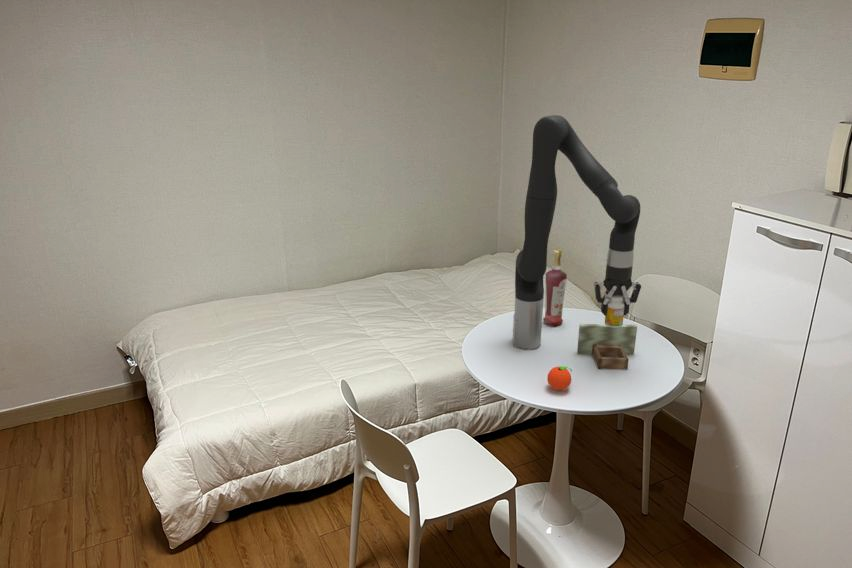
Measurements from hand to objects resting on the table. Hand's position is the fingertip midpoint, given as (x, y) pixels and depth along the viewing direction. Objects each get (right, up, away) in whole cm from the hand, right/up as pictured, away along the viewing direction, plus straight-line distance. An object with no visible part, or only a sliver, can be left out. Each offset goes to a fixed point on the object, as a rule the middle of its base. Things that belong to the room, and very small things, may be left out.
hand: (614, 314), depth 191 cm
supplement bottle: (0, -3, +1) cm, 4 cm away
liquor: (-12, -5, +34) cm, 36 cm away
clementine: (-19, -22, -9) cm, 30 cm away
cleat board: (0, -15, +7) cm, 17 cm away
